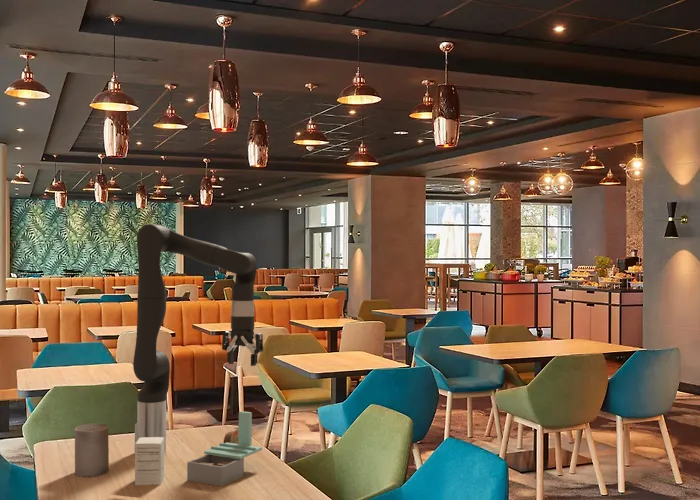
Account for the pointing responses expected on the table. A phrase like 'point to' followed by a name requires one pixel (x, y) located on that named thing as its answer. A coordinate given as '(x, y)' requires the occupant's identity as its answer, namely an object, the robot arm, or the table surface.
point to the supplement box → (149, 461)
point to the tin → (232, 436)
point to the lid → (244, 441)
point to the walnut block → (223, 463)
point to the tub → (214, 470)
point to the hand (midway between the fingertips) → (242, 364)
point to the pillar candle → (91, 449)
